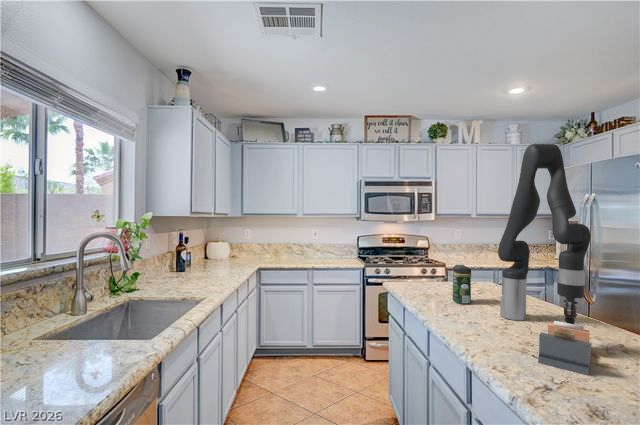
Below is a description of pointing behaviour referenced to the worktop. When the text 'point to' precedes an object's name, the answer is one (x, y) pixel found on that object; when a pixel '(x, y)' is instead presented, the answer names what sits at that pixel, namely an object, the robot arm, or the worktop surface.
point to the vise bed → (564, 353)
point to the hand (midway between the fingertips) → (569, 332)
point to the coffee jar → (461, 284)
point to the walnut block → (564, 333)
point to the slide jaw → (578, 329)
